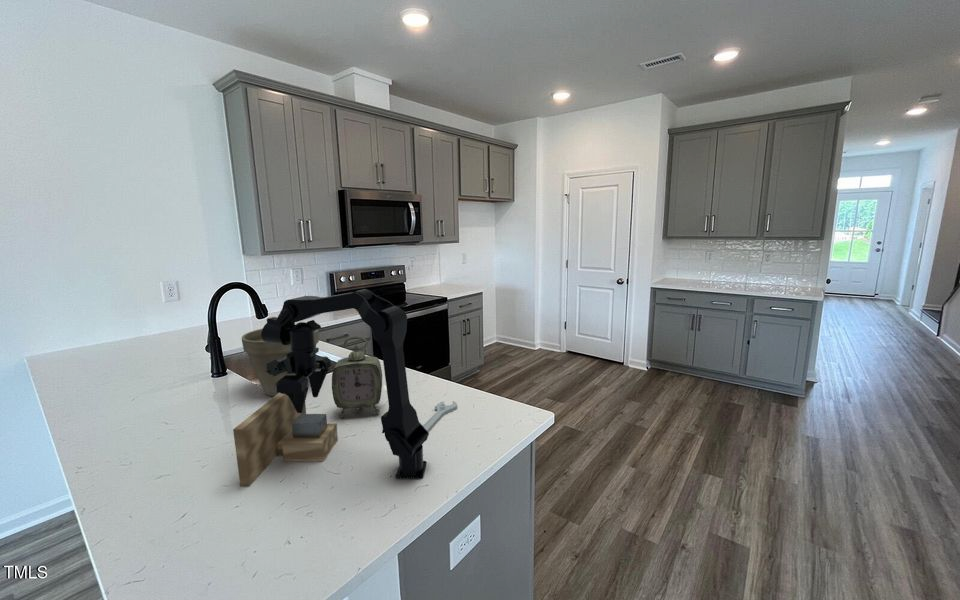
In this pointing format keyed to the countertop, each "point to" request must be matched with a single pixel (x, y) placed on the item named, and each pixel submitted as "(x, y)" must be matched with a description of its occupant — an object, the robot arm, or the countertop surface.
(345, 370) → the tabletop clock
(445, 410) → the adjustable wrench
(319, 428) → the grey rectangular block
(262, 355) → the plant pot
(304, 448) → the wooden desk organizer
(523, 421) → the countertop surface
